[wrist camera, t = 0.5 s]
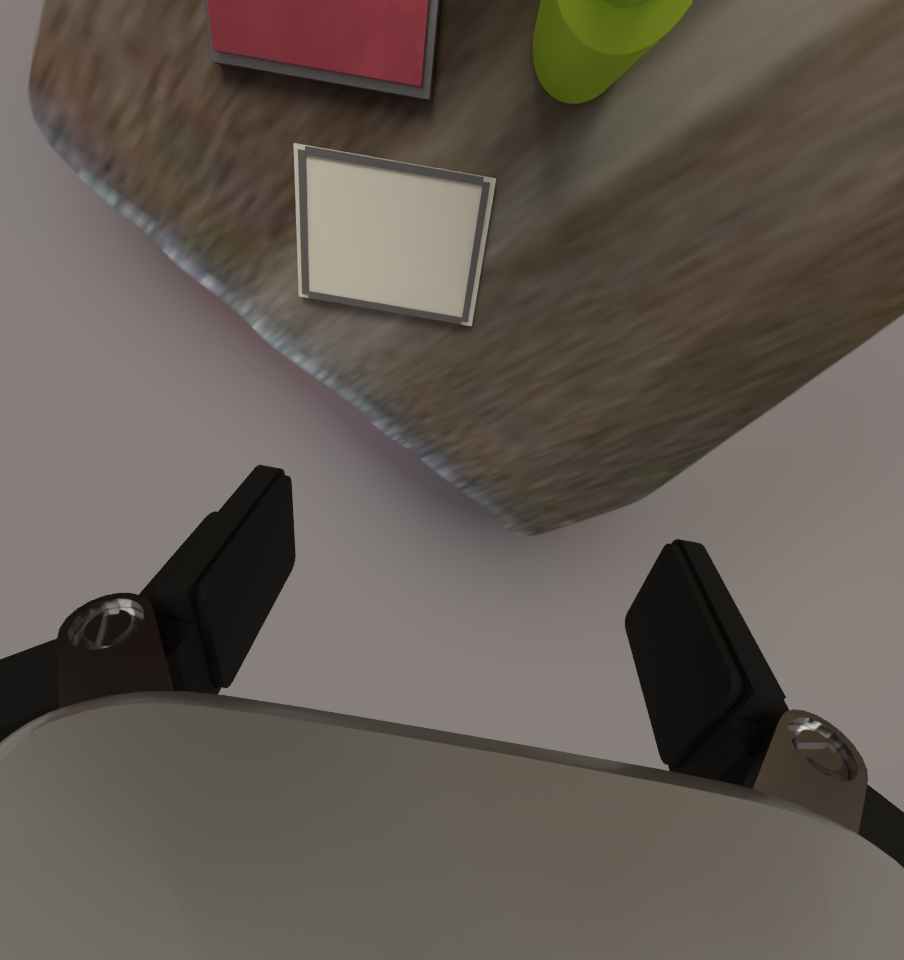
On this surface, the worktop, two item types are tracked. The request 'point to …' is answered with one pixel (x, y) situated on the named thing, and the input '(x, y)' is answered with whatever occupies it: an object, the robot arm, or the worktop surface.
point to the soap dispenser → (596, 42)
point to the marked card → (390, 234)
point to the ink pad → (331, 41)
